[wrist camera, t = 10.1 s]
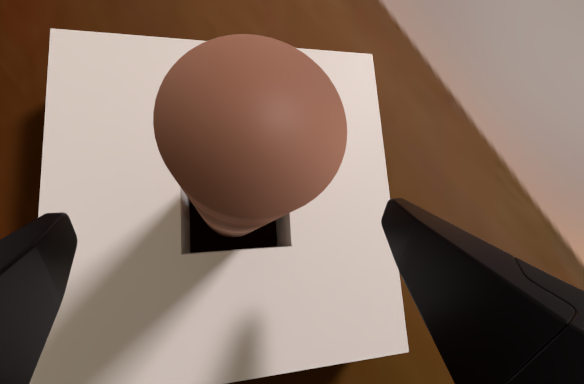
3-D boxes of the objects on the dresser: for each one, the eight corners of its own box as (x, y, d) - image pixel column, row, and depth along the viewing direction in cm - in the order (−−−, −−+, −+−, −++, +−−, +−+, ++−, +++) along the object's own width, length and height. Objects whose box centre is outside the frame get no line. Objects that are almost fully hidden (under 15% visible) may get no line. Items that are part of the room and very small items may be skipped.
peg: (275, 208, 19) (381, 131, 6) (231, 250, 18) (254, 261, 5) (234, 165, 19) (259, 1, 6) (188, 205, 18) (105, 108, 5)
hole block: (370, 330, 19) (408, 352, 15) (75, 374, 15) (24, 418, 11) (345, 88, 21) (372, 54, 17) (87, 76, 18) (50, 28, 14)
